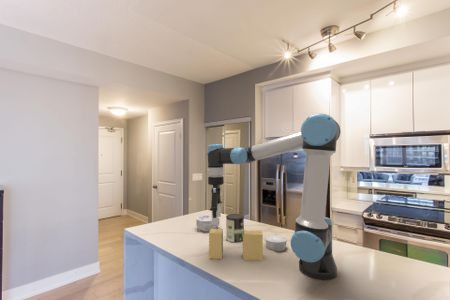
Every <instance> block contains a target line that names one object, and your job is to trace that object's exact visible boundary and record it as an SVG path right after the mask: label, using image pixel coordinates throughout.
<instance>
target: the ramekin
mask: <svg viewBox="0 0 450 300" xmlns="http://www.w3.org/2000/svg"><path fill="white" fill-rule="evenodd" d="M264 241H265V244H266V248H268V249H269V250H272V251H274V252H276V253H277V252H284V251H285V249H286V248H287V242H288V238H287V237H286V236H284V235H280V234H279V235H278V234H269V235H267V236H265V238H264Z"/></svg>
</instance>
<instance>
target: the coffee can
mask: <svg viewBox="0 0 450 300" xmlns="http://www.w3.org/2000/svg"><path fill="white" fill-rule="evenodd" d="M225 218H226V220H225V221H226V223H225V224H226V227H225V228H226V230H225V231H226V232H225V233H226V240H225V241H226V242H229V243H232V244H233V243H235V244H236V243H238V244H239V243H241V242H242V243H243V230H245V219H244V218H245V216H244V215H243V214H239V213H232V214H231V213H229V214H227V215H226V216H225Z"/></svg>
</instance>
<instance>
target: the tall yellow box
mask: <svg viewBox="0 0 450 300" xmlns="http://www.w3.org/2000/svg"><path fill="white" fill-rule="evenodd" d="M263 241H264V239H263V231H262V230H245V229H244V230H243V241H242V260H244V261H245V260H247V261H248V260H249V261H263V259H264V258H263V256H264V253H263V250H264V247H263V244H264V243H263Z"/></svg>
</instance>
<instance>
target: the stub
mask: <svg viewBox="0 0 450 300" xmlns="http://www.w3.org/2000/svg"><path fill="white" fill-rule="evenodd" d="M223 253H224V229H222V228H220V229H219V228H216V229H210V232H208V258H209V260H211V259H216V260H222V259H223Z"/></svg>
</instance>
